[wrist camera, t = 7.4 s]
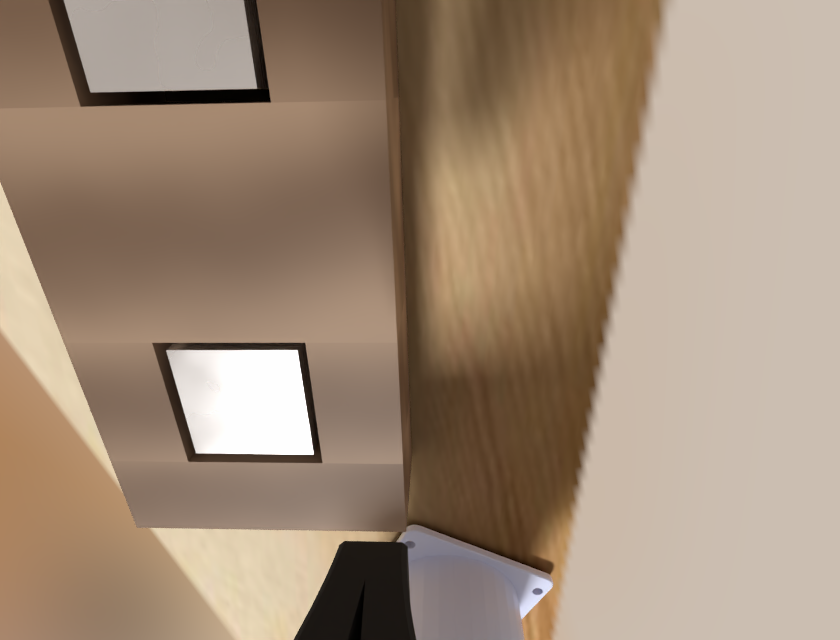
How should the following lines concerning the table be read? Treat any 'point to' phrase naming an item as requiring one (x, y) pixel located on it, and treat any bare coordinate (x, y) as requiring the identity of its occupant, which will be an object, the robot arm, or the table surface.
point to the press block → (225, 257)
